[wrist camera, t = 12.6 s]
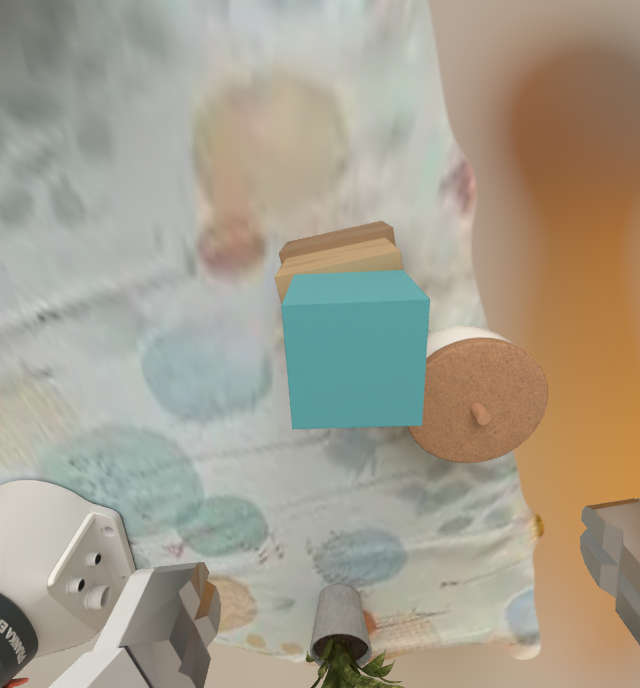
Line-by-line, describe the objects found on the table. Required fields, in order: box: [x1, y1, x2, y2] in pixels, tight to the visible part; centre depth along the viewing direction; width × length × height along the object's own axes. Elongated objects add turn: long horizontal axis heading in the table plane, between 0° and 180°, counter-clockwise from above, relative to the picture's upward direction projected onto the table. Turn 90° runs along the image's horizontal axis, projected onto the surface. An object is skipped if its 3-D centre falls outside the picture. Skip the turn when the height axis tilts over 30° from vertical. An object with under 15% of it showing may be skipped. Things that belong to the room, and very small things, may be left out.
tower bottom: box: [279, 221, 396, 264], centre depth 30 cm, size 8×8×6 cm
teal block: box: [281, 270, 430, 429], centre depth 19 cm, size 6×6×6 cm
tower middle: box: [275, 238, 403, 304], centre depth 25 cm, size 7×7×6 cm
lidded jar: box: [407, 326, 548, 463], centre depth 32 cm, size 11×11×9 cm
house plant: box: [306, 584, 404, 688], centre depth 42 cm, size 14×14×16 cm
